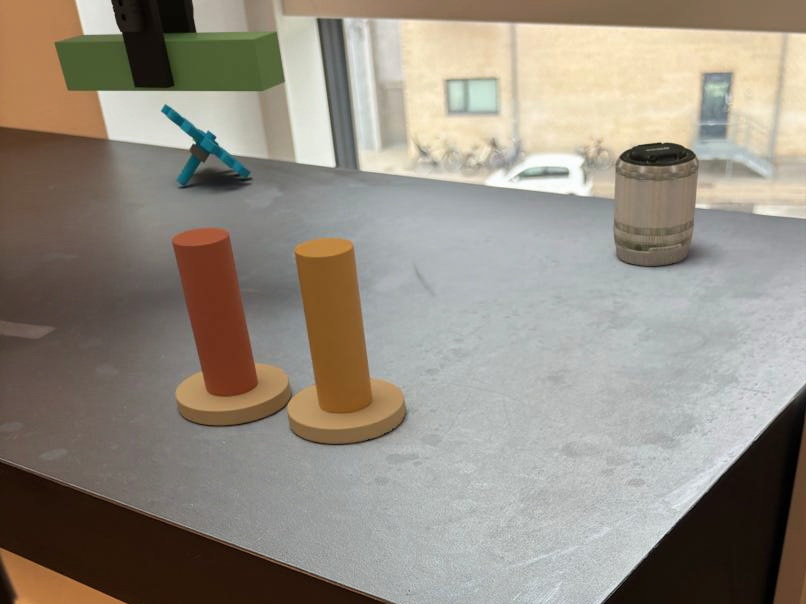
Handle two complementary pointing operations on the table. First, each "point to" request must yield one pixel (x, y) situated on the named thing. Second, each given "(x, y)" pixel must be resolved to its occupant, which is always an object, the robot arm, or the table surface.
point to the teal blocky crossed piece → (201, 148)
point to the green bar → (177, 62)
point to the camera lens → (655, 203)
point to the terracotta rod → (221, 338)
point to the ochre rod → (338, 353)
